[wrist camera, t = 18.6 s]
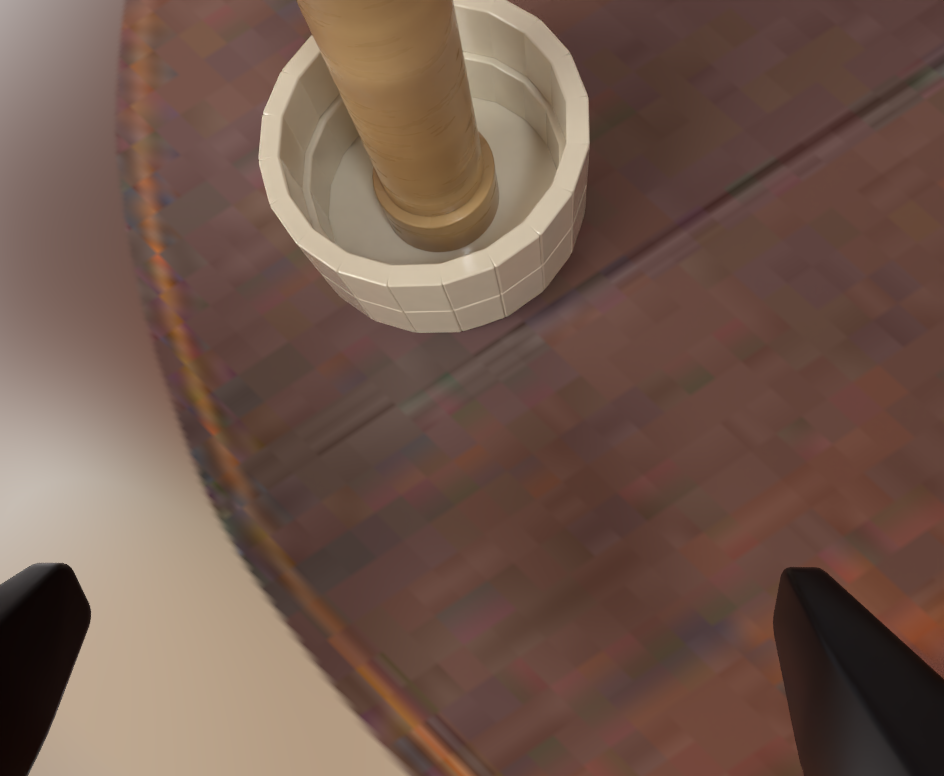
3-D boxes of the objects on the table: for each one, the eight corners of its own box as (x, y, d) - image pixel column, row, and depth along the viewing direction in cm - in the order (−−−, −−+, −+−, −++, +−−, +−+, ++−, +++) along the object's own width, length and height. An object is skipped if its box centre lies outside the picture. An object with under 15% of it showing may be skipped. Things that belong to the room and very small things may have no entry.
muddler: (519, 220, 23) (460, -267, 10) (413, 272, 23) (206, -144, 10) (469, 129, 24) (351, -433, 11) (368, 178, 24) (120, -320, 11)
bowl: (472, 394, 23) (451, 352, 18) (258, 242, 25) (193, 172, 20) (639, 171, 24) (657, 82, 19) (421, 43, 26) (393, -65, 21)
